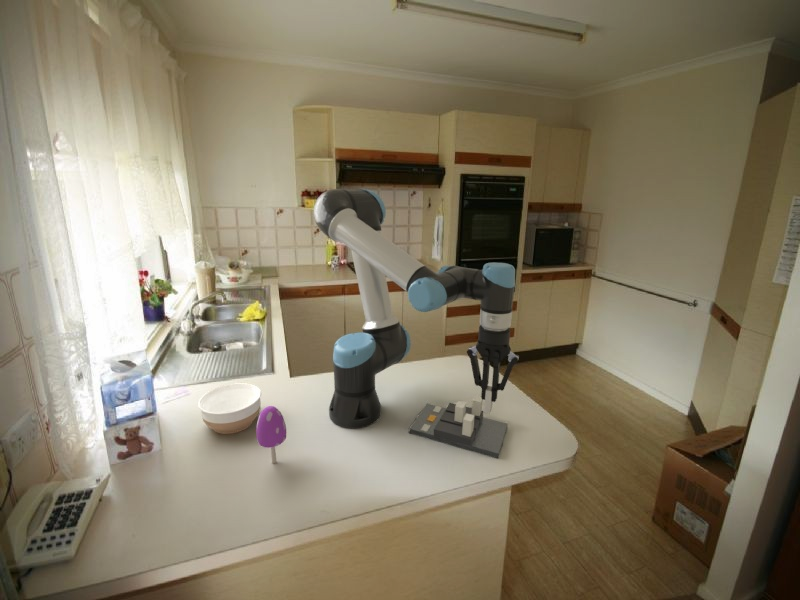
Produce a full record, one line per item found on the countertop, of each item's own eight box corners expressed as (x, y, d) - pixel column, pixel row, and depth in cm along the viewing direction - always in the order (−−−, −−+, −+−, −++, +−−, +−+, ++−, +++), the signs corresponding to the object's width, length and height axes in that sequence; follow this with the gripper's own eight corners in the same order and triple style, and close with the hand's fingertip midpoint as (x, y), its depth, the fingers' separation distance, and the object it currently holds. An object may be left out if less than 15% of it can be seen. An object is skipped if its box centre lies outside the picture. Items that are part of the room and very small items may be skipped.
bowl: (238, 401, 120) (235, 377, 117) (275, 416, 112) (273, 392, 110) (189, 427, 106) (184, 402, 104) (227, 447, 99) (223, 420, 96)
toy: (272, 475, 90) (267, 419, 85) (253, 464, 93) (247, 409, 89) (294, 459, 95) (290, 405, 91) (275, 449, 98) (271, 396, 94)
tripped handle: (454, 420, 105) (455, 406, 104) (457, 415, 108) (458, 400, 107) (462, 422, 105) (463, 408, 103) (465, 417, 107) (466, 402, 106)
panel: (409, 433, 106) (409, 427, 105) (426, 407, 118) (427, 402, 118) (498, 458, 97) (498, 452, 96) (507, 428, 109) (507, 422, 108)
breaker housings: (433, 435, 103) (434, 413, 101) (449, 408, 115) (450, 388, 113) (470, 446, 99) (472, 423, 97) (482, 417, 111) (484, 396, 109)
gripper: (464, 327, 95) (460, 412, 101) (520, 335, 90) (511, 424, 96) (472, 318, 101) (467, 398, 108) (524, 325, 96) (515, 409, 103)
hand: (488, 410), depth 102 cm, fingers closed
